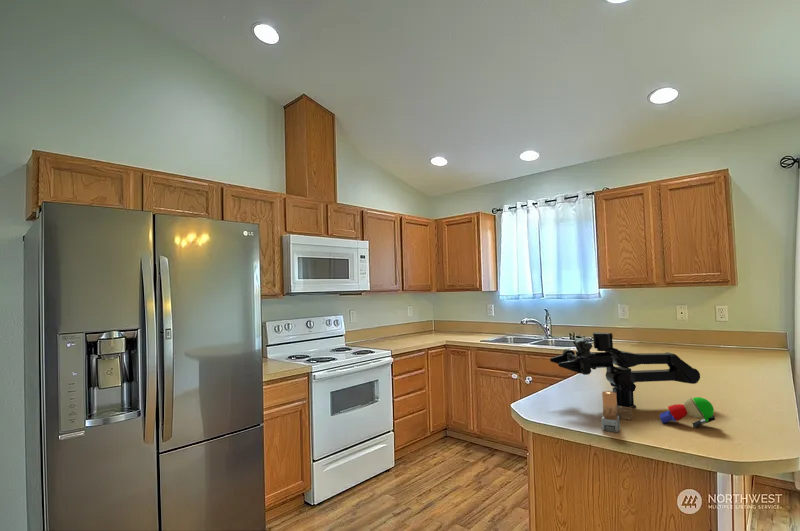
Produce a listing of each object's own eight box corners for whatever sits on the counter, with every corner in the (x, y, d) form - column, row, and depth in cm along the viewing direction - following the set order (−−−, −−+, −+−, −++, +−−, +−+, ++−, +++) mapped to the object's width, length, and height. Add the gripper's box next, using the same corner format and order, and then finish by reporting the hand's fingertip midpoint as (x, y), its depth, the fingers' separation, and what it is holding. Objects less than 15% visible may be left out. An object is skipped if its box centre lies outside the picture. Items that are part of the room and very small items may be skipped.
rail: (612, 418, 143) (612, 413, 143) (620, 419, 142) (620, 414, 142) (605, 430, 131) (605, 425, 131) (614, 432, 129) (614, 427, 129)
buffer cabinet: (606, 412, 149) (605, 403, 149) (631, 416, 145) (631, 406, 145) (603, 416, 145) (603, 406, 145) (630, 420, 141) (629, 409, 141)
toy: (672, 437, 133) (721, 419, 127) (656, 414, 136) (703, 395, 129) (671, 429, 140) (718, 412, 134) (656, 407, 143) (701, 389, 137)
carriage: (604, 425, 135) (602, 390, 136) (619, 427, 133) (618, 391, 133) (602, 429, 131) (600, 393, 132) (617, 432, 128) (615, 395, 129)
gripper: (583, 335, 169) (544, 337, 169) (605, 342, 150) (561, 345, 151) (585, 363, 168) (546, 365, 169) (607, 373, 150) (563, 376, 150)
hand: (554, 362), depth 160 cm, fingers open, 9 cm apart
